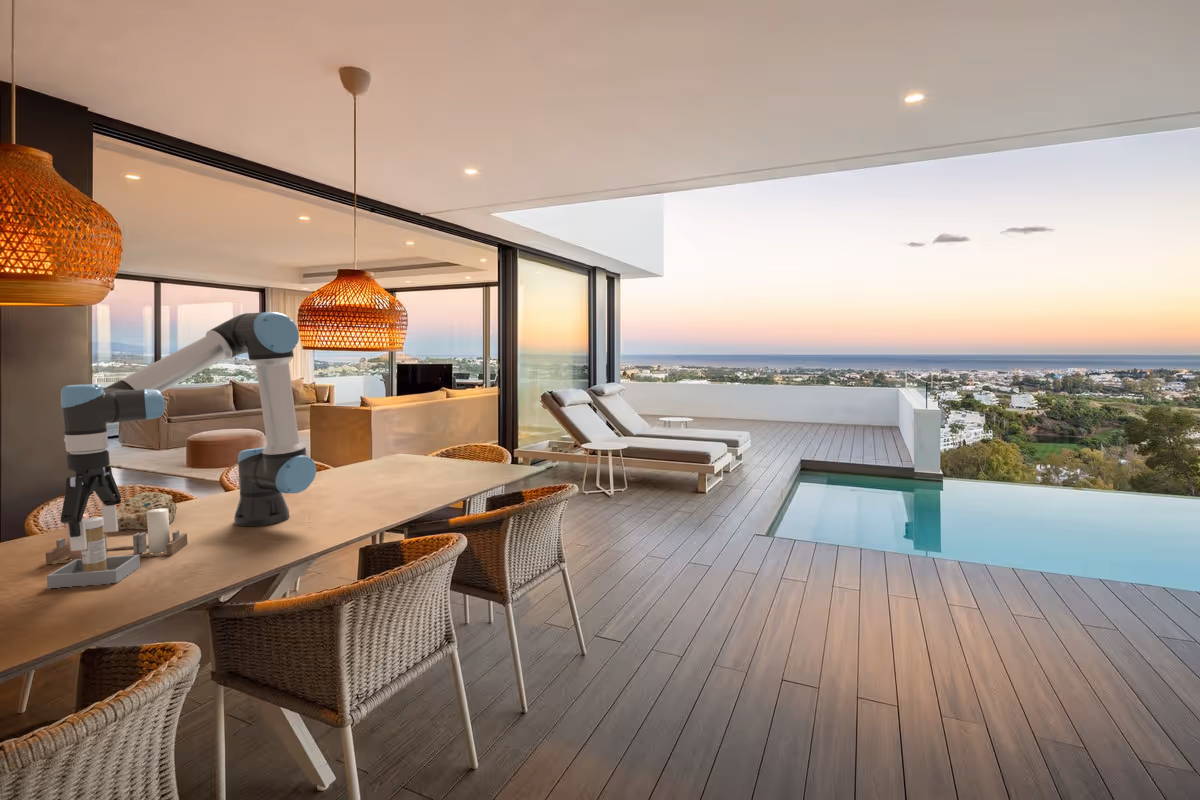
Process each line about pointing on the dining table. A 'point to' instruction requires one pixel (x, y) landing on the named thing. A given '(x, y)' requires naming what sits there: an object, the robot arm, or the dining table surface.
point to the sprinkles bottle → (94, 546)
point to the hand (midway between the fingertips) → (95, 540)
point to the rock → (143, 509)
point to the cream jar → (158, 530)
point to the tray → (93, 572)
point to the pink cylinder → (71, 554)
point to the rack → (138, 546)
